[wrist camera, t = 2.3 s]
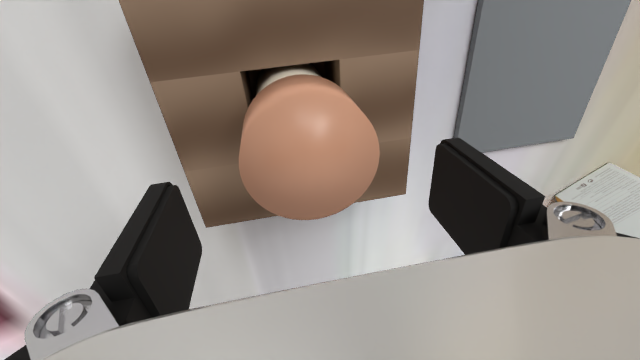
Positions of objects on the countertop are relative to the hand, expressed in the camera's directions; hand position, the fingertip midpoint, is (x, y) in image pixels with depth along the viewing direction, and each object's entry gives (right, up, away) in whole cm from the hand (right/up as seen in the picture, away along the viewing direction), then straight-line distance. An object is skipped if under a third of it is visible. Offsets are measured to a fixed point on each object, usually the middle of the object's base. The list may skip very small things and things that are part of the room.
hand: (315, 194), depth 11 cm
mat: (+17, +11, +13) cm, 24 cm away
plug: (-2, +7, +10) cm, 12 cm away
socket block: (-2, +7, +11) cm, 13 cm away
